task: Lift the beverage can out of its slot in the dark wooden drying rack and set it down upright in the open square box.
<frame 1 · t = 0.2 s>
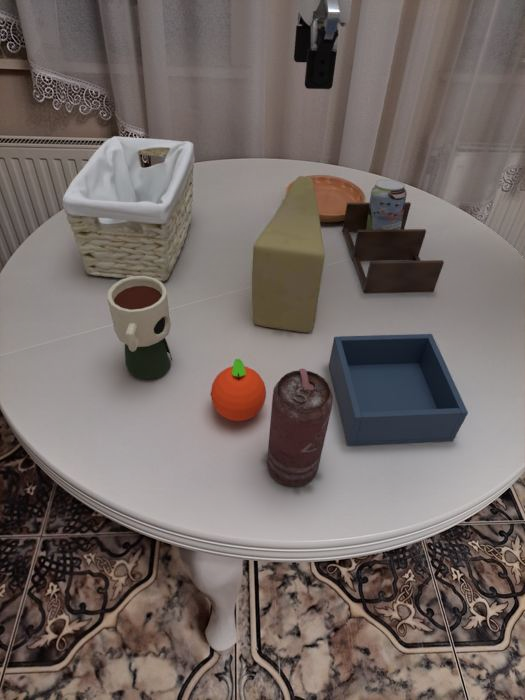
hand: (311, 74, 63), 32 cm above the table, tool pointing down, fingers open, 9 cm apart
can: (291, 465, 61), on the table
drying rack: (384, 259, 92), on the table
cheese: (290, 287, 85), on the table
saucer: (323, 207, 104), on the table
character mug: (149, 366, 71), on the table
clementine: (238, 408, 67), on the table
beverage can: (378, 245, 95), resting in drying rack
open square box: (387, 401, 68), on the table
basket: (145, 245, 92), on the table
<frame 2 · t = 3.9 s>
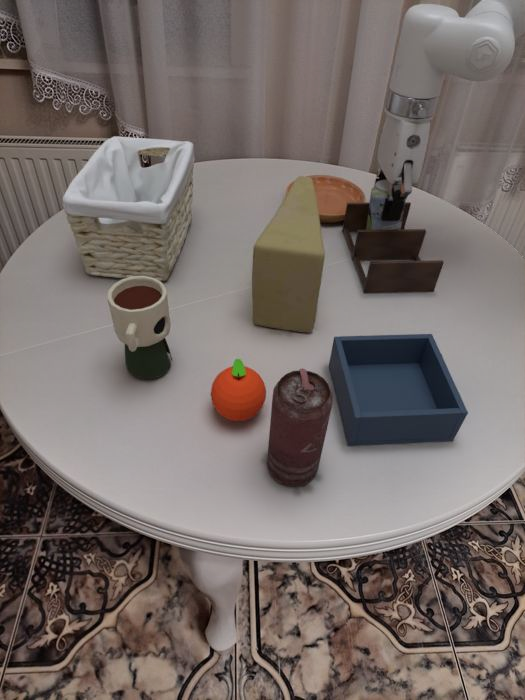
hand: (385, 208, 90), 7 cm above the table, tool pointing down, fingers closed on beverage can, 6 cm apart
beverage can: (378, 245, 95), resting in drying rack, touching gripper
everything else where it was.
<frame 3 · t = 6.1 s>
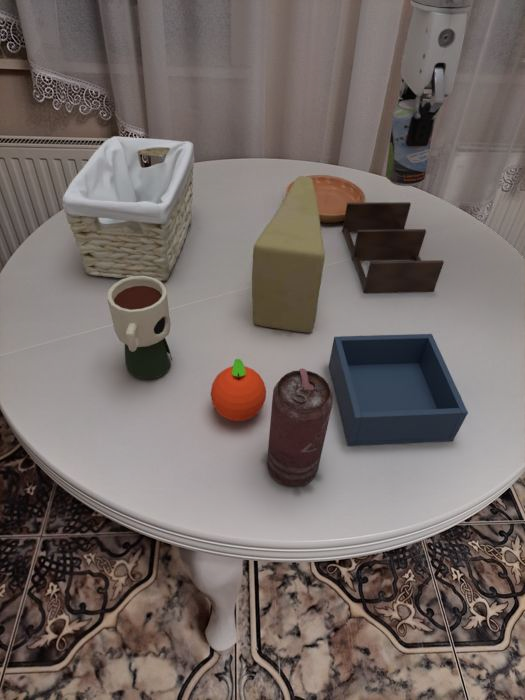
hand: (410, 134, 77), 22 cm above the table, tool pointing down, fingers closed on beverage can, 6 cm apart
beverage can: (401, 181, 82), point 14 cm above the table, touching gripper
everything else where it was.
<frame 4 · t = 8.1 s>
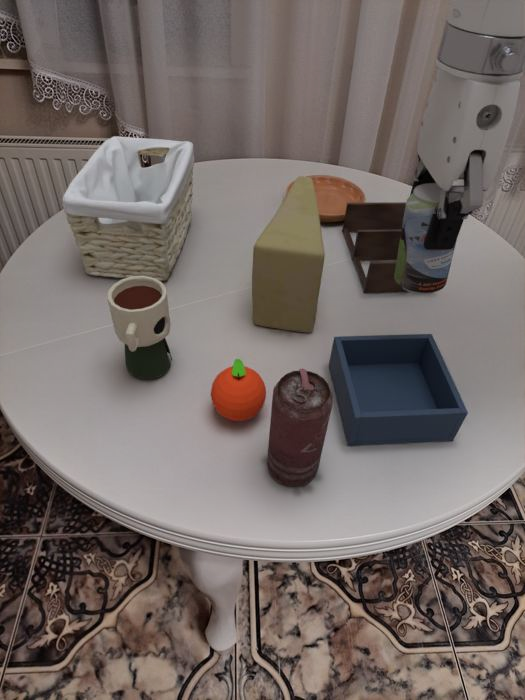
hand: (428, 229, 57), 23 cm above the table, tool pointing down, fingers closed on beverage can, 6 cm apart
beverage can: (414, 283, 62), point 15 cm above the table, touching gripper
everything else where it was.
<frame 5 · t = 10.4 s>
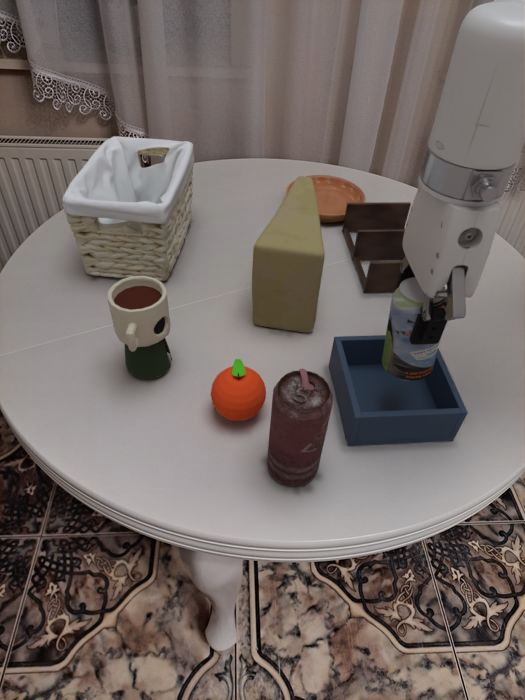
hand: (414, 320, 58), 15 cm above the table, tool pointing down, fingers closed on beverage can, 6 cm apart
beverage can: (402, 366, 63), point 7 cm above the table, touching gripper
everything else where it was.
when the fingers open (8 cm above the table, at t = 12.4 s): beverage can stays where it is, resting on open square box.
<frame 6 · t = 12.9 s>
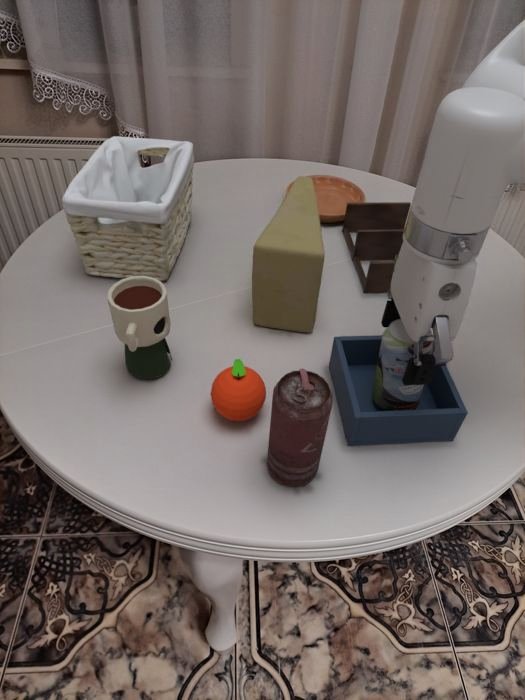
hand: (403, 352, 62), 9 cm above the table, tool pointing down, fingers open, 9 cm apart
beverage can: (391, 399, 68), point 1 cm above the table, touching open square box
everything else where it was.
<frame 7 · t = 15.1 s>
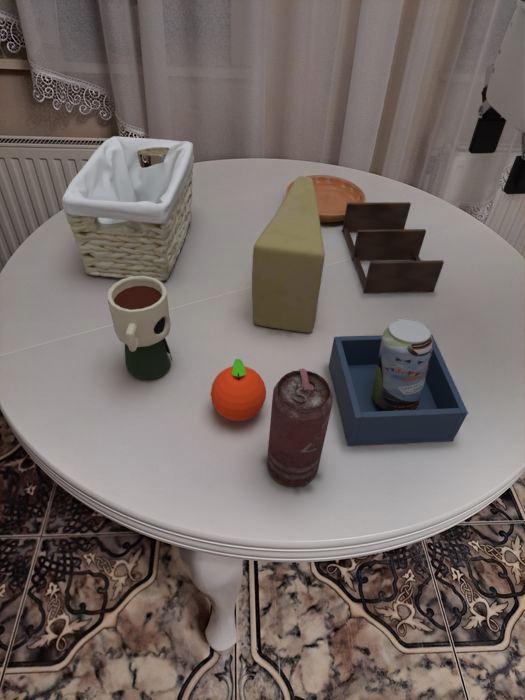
hand: (498, 171, 58), 27 cm above the table, tool pointing down, fingers open, 9 cm apart
nothing on the table moved.
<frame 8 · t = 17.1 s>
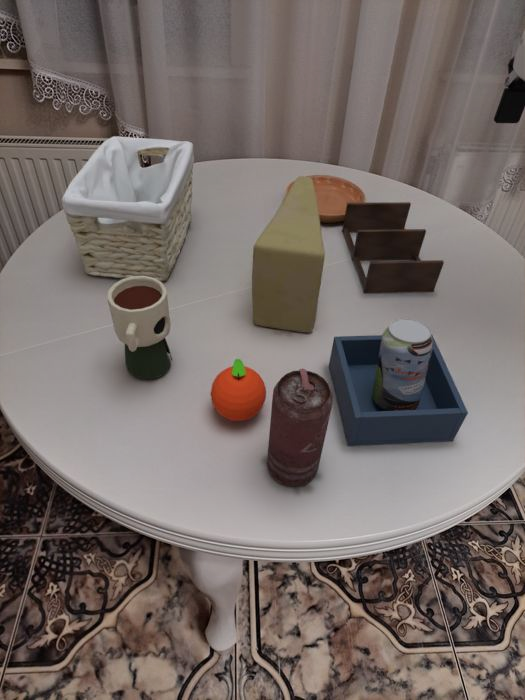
hand: (522, 138, 61), 28 cm above the table, tool pointing down, fingers open, 9 cm apart
nothing on the table moved.
at the end: beverage can inside the target area in the open square box (0.4 cm from its centre), point 0.6 cm above the open square box's base; beverage can tilted 0° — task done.
